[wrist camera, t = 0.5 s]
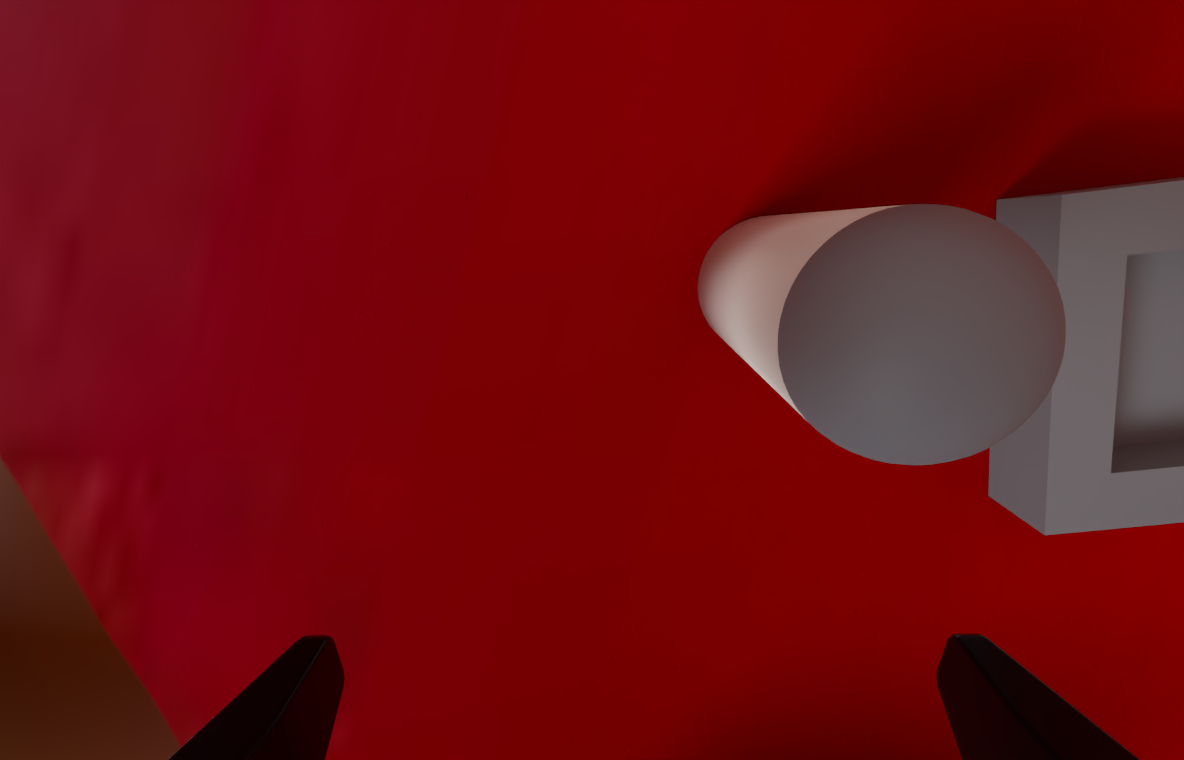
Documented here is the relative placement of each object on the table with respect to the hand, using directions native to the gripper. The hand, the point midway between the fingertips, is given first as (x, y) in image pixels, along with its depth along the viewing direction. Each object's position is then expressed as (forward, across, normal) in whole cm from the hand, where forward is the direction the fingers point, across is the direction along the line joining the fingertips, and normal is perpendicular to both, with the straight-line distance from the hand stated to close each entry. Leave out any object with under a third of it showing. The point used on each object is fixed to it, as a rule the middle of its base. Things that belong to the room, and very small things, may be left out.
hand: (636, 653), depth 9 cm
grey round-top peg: (+15, -5, 0) cm, 16 cm away
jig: (+15, -19, +2) cm, 24 cm away
